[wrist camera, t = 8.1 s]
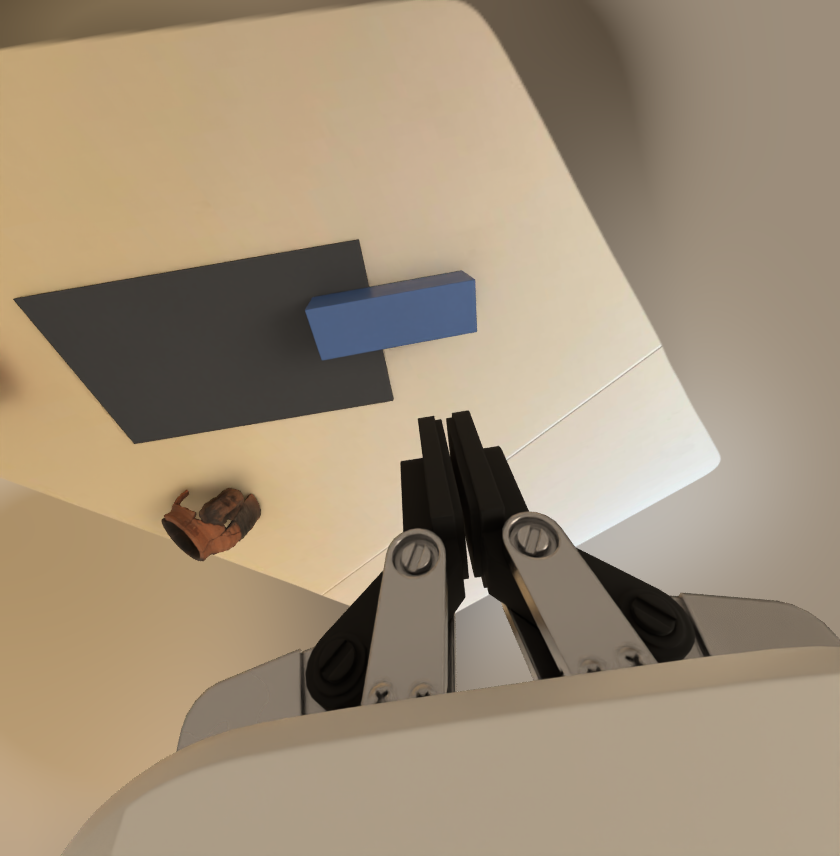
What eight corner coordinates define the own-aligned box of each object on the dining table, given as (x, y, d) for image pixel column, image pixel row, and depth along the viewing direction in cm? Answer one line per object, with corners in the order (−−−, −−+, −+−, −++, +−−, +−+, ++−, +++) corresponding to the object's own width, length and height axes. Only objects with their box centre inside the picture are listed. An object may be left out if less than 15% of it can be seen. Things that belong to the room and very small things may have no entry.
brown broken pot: (257, 530, 48) (205, 576, 42) (210, 487, 48) (151, 526, 42) (279, 498, 41) (220, 547, 34) (224, 445, 40) (154, 486, 34)
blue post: (462, 270, 30) (312, 297, 29) (475, 279, 26) (304, 310, 26) (464, 317, 32) (326, 343, 32) (477, 332, 29) (321, 360, 28)
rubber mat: (16, 297, 28) (12, 299, 28) (358, 239, 28) (358, 239, 27) (136, 442, 37) (134, 444, 37) (393, 398, 37) (393, 400, 37)
